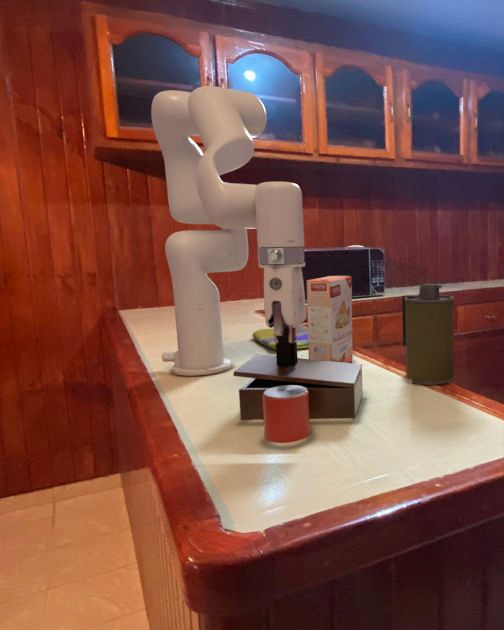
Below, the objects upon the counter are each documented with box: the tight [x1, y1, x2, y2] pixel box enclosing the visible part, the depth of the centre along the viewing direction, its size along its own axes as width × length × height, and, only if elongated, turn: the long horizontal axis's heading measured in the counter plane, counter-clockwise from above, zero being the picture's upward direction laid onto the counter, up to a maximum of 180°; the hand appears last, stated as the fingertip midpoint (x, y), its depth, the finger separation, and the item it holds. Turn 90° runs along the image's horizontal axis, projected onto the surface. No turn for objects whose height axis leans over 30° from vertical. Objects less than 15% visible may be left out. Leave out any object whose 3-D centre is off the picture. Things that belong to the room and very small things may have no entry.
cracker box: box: [306, 275, 354, 363], centre depth 120 cm, size 14×6×21 cm, turn 168°
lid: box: [233, 353, 363, 388], centre depth 91 cm, size 19×13×1 cm, turn 91°
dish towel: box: [252, 324, 309, 350], centre depth 152 cm, size 18×24×3 cm
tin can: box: [263, 385, 311, 444], centre depth 79 cm, size 7×7×8 cm
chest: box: [238, 369, 364, 421], centre depth 92 cm, size 19×13×6 cm
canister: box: [401, 283, 456, 386], centre depth 111 cm, size 11×10×20 cm
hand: (287, 365), depth 91 cm, fingers closed
